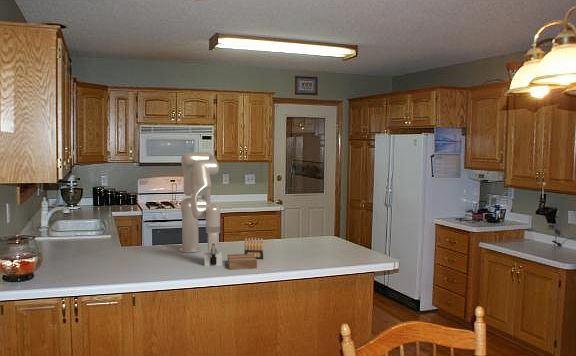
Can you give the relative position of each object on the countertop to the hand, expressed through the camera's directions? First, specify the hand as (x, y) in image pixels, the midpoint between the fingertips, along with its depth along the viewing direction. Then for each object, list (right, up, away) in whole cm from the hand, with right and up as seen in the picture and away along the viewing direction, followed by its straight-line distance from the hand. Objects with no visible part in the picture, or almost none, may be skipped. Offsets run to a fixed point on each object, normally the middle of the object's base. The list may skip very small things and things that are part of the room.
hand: (213, 262), depth 270 cm
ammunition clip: (+21, 0, +14) cm, 25 cm away
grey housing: (0, -1, 0) cm, 1 cm away
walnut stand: (+15, -1, -1) cm, 15 cm away
